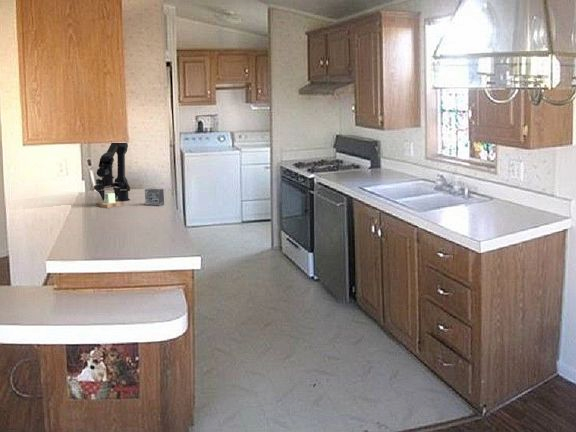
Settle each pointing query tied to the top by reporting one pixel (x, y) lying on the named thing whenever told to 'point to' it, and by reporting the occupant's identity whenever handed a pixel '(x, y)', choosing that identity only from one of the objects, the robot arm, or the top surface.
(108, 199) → the block
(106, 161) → the robot arm
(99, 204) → the base board
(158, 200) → the small box
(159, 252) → the top surface
